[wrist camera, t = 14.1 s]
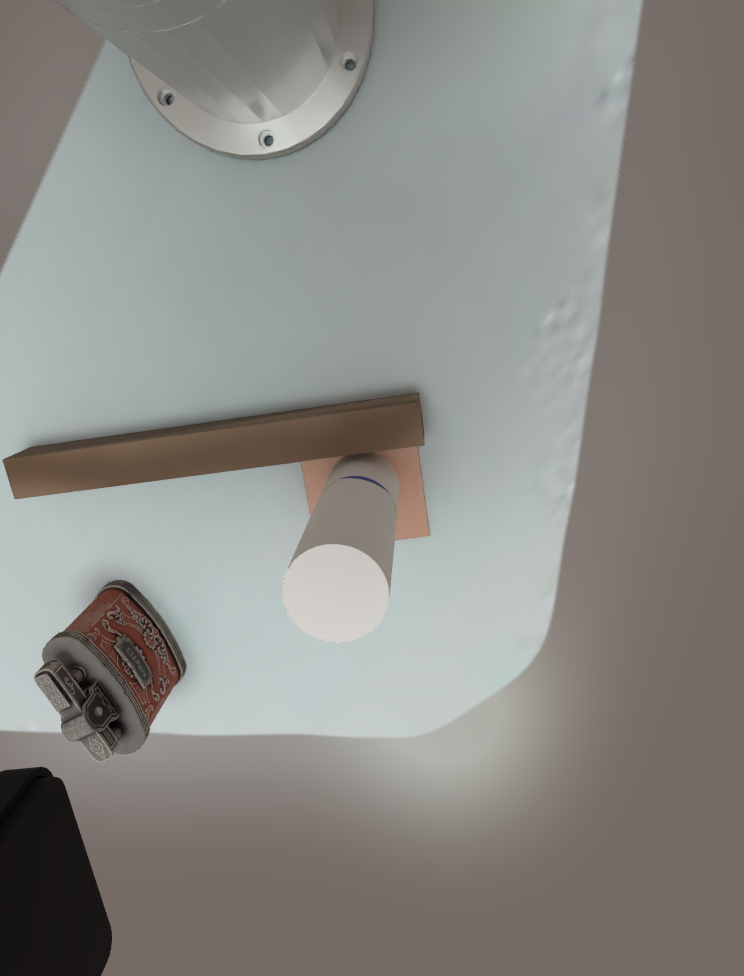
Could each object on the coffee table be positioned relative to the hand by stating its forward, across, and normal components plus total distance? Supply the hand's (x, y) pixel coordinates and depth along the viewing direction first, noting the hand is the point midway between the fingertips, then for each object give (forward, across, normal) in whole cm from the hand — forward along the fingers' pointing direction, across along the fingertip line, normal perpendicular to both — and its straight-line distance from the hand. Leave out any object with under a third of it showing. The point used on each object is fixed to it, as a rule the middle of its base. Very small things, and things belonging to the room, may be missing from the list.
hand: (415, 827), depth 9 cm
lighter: (+34, +20, +13) cm, 41 cm away
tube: (+33, +4, +5) cm, 34 cm away
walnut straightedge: (+33, +12, +1) cm, 35 cm away
